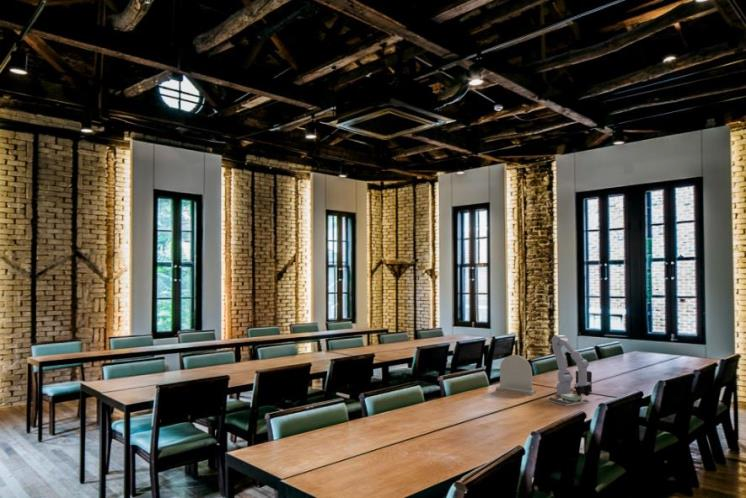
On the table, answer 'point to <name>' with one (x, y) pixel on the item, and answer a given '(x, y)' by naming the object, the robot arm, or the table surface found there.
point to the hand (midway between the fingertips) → (582, 396)
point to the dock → (565, 401)
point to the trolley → (571, 397)
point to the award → (516, 375)
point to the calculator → (589, 379)
